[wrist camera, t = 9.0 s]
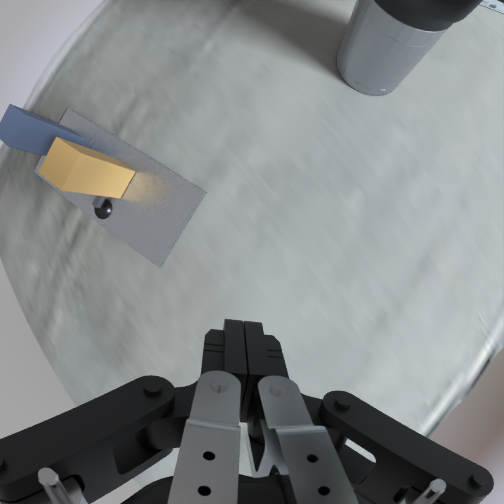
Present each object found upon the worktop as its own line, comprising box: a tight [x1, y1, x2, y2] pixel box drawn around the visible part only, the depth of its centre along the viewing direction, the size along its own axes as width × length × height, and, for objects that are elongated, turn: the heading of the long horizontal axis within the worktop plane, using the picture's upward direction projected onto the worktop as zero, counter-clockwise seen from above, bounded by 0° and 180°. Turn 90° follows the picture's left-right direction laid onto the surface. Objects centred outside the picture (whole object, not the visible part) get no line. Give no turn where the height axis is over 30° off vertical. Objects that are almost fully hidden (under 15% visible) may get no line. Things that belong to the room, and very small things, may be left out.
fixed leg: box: [0, 104, 83, 156], centre depth 33 cm, size 4×6×13 cm, turn 147°
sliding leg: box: [39, 137, 135, 208], centre depth 33 cm, size 4×6×13 cm, turn 147°
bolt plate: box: [34, 108, 206, 267], centre depth 40 cm, size 26×11×1 cm, turn 57°
